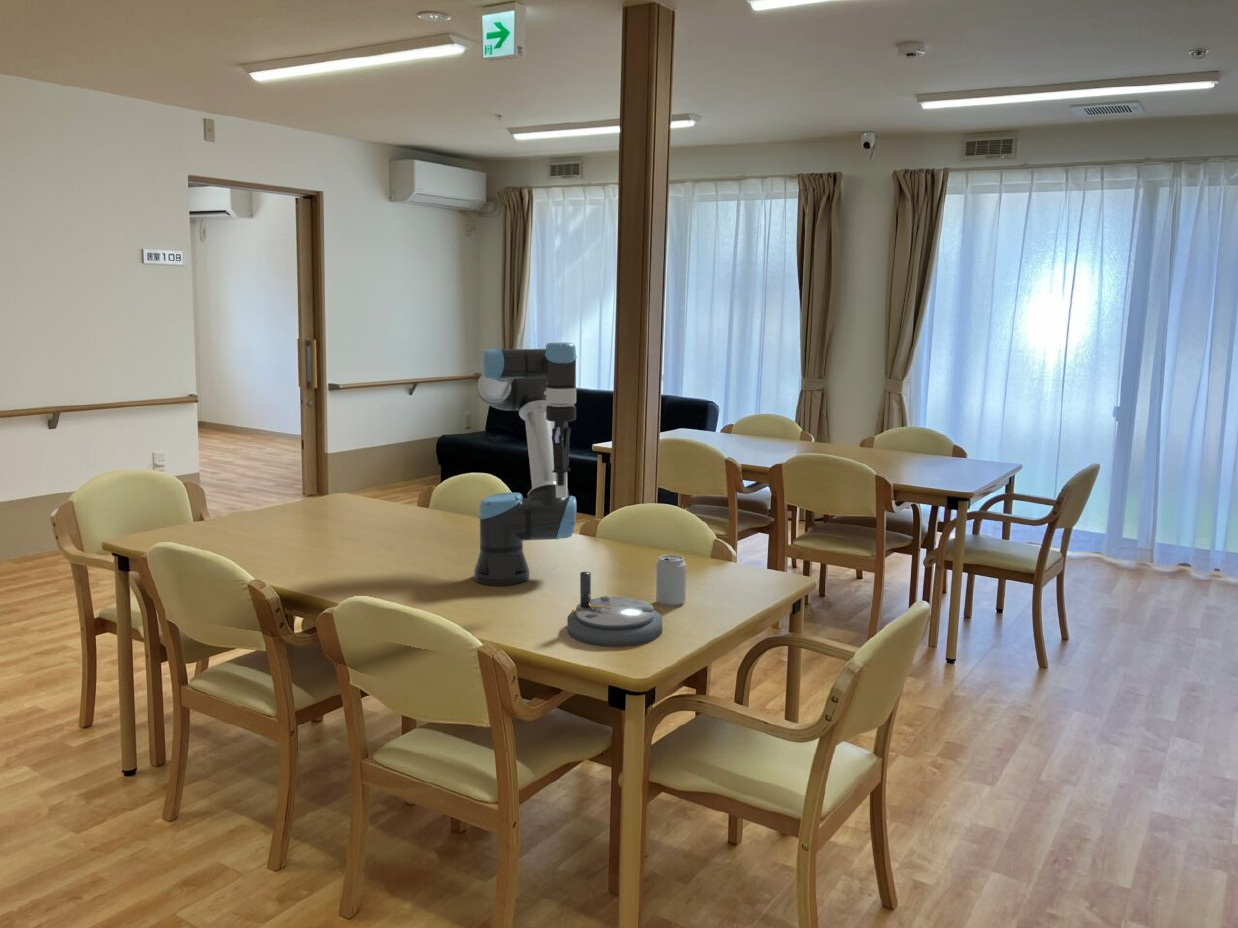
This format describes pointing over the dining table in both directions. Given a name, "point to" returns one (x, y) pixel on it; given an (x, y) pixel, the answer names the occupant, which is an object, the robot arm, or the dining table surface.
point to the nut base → (614, 633)
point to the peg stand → (611, 609)
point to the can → (671, 580)
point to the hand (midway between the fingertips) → (561, 497)
